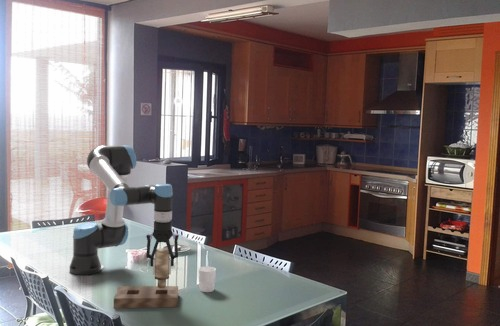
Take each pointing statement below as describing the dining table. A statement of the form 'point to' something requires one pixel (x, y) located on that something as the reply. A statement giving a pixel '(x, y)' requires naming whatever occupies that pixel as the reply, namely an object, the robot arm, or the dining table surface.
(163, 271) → the beech peg
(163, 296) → the walnut board
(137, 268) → the dining table surface
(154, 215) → the robot arm
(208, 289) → the white cup
